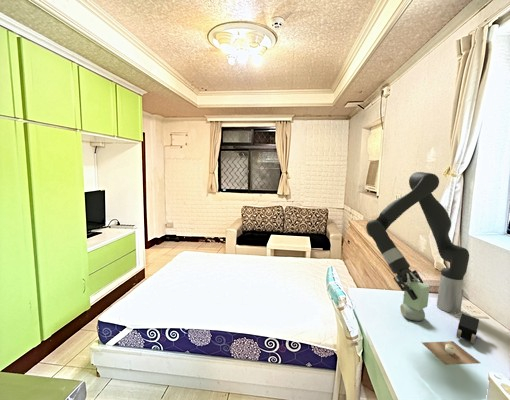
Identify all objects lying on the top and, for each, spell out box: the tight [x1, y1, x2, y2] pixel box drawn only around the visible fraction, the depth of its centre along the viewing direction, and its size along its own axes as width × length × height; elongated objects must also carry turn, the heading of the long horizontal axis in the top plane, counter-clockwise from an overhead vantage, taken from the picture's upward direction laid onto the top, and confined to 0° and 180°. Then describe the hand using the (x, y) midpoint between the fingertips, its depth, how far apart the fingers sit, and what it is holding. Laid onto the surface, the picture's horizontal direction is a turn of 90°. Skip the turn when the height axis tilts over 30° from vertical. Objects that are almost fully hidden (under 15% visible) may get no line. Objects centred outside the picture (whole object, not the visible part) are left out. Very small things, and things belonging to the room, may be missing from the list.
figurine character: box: [455, 313, 480, 345], centre depth 112 cm, size 7×8×15 cm
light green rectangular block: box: [402, 281, 431, 311], centre depth 110 cm, size 6×6×9 cm
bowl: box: [445, 344, 455, 355], centre depth 101 cm, size 3×3×2 cm
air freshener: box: [399, 303, 426, 322], centre depth 126 cm, size 11×8×10 cm
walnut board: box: [421, 340, 481, 366], centre depth 102 cm, size 14×12×1 cm
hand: (420, 297), depth 109 cm, fingers closed on light green rectangular block, 6 cm apart
